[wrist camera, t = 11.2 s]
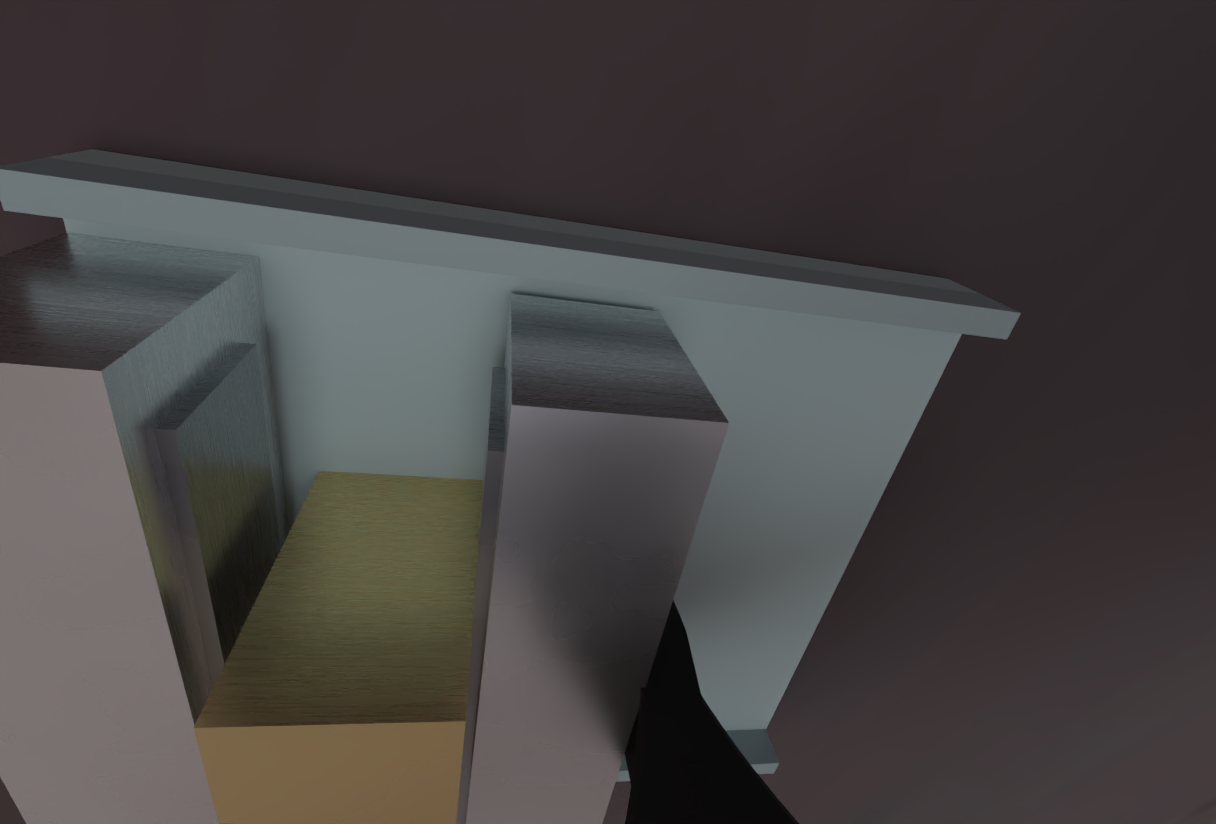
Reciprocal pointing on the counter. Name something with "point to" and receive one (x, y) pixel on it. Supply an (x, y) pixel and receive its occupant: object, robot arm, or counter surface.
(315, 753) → the block
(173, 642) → the fixed jaw
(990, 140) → the counter surface
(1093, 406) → the counter surface
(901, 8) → the counter surface
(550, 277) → the vise base
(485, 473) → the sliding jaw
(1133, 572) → the counter surface
